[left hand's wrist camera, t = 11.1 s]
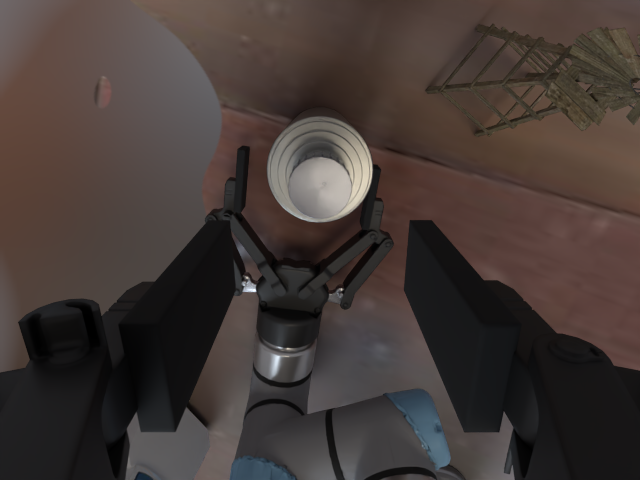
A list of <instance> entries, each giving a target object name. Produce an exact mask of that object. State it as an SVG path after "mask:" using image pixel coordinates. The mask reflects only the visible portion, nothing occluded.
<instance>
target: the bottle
mask: <svg viewBox="0 0 640 480" xmlns="http://www.w3.org/2000/svg"><path fill="white" fill-rule="evenodd" d="M322 151H323V152H327V153H331V154H332V155H334V156H336V157H339V159H340V160H341V161H342V162H344V163H345V166H346V168H347V170H349V173H350V178H351V181H352V192H351V197H350V200H349V202H348V204H347V205H346V207H345V208H344V209H343V210H342V211H341V212H340V213H338V214H337V215H335V216H333V217H330V218H326V219H314V218H310V217H307V216H305V215H303V214H302V213H300V212H299V211H298V210H297V209H296V208H295V207H294V205H293V204H292V202H291V200H290V197H289V192H288V184H289V176H290V173H292V169H293V166H295V165H296V163H297V162H298V160H299V159H301V158H302V157H304V156H305V155H306V154H310V153H313V152H322ZM267 178H268V183H269V186H270V189H271V191H272V193H273V195H274V197H275V199H276V200H277V201H278V203H279V204H280V205H281V206H282V207H283V208H284V209H285V210H286V211H288V212H289V213H290V214H292V215H294V216H295V217H298V218H300V219H302V220H306V221H310V222H330V221H334V220H337V219H340V218H342V217H344V216H346V215H348V214H350V213H351V212H352V211H354V210H355V209H356V208H357V207H358V206H359V205H360V204H361V203H362V201H363V200H364V198H365V197H366V195H367V193H368V191H369V189H370V186H371V183H372V178H373V161H372V156H371V153H370V150H369V147H368V145H367V143H366V142H365V140H364V139H363V137H362V136H361V135H360V134H359V133H358V131H357V130H356V129H355V128H354V127H353V126H352V125H351V124H350V123H349V122H348V121H347V120H346V119H345V118H344V117H343V116H342V115H341V114H340V113H338V112H337V111H335V110H333V109H330V108H325V107H314V108H310V109H307V110H305V111H303V112H302V113H300V114H299V115H298V116H297V117H296V118H295V119H294V120H293V121H292V122H291V123H290V124H289V125H288V126H287V127H286V128H285V129H284V130H283V132H282V133H281V134H280V135H279V136H278V137H277V139H276V140H275V142H274V143H273V145H272V147H271V150H270V152H269V156H268V160H267Z"/></svg>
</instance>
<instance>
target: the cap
mask: <svg viewBox="0 0 640 480" xmlns="http://www.w3.org/2000/svg"><path fill="white" fill-rule="evenodd" d="M288 192H289V197H290V200H291V202H292V204H293V205H294V207H295V208H296V209H297V210H298V211H299V212H300V213H302V214H303V215H305V216H307V217H310V218H314V219H326V218H330V217H333V216H335V215H337V214H338V213H340V212H341V211H342V210H343V209H344V208H345V207H346V205H347V204H348V202H349V200H350V197H351V192H352V181H351V178H350V173H349V170H347V168H346V166H345V163H344V162H342V161H341V160H340V159H339V157H336V156H334V155H332V154H331V153H327V152H323V151H322V152H313V153H310V154H306V155H305V156H304V157H302V158H301V159H299V160H298V162H297V163H296V165H295V166H293V169H292V173H290V176H289V184H288Z"/></svg>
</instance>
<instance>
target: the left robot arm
mask: <svg viewBox="0 0 640 480" xmlns="http://www.w3.org/2000/svg"><path fill="white" fill-rule="evenodd" d="M235 291H236V284H235V272H234V260H233V248H232V236H231V224H230V220H208V221H207V223H206V224H205V225H204V226H203V227H202V228H201V229H200V231H199V232H198V233H197V234H196V235H195V236H194V237H193V239H192V240H191V241H190V242H189V243H188V244H187V246H186V247H185V248H184V249H183V250H182V251H181V252H180V254H179V255H178V256H177V257H176V258H175V259H174V261H173V262H172V263H171V264H170V265H169V266H168V267H167V269H166V270H165V271H164V272H163V273H162V274H161V276H160V277H159V278H158V279H157V280H156V281H155V282H141V283H140V284H138V285H136V286H134V287H132V288H130V289H129V290H127V291H126V292H125V293H124V294H123V295H122V296H121V297H120V298H119V299H118V300H117V303H114V304H113V305H112V306H111V307H110V308H109V311H107V312H105V313H104V314H103V315H102V316H101V312H100V308H99V304H98V303H96V302H95V301H93V300H87V299H69V300H64V301H59V302H54V303H51V304H48V305H45V306H43V307H40V308H38V309H36V310H34V311H32V312H30V313H28V314H27V315H25V316H24V317H23V318H22V319H21V320H20V321H19V322H18V323H19V326H20V329H21V333H22V336H23V339H24V342H25V345H26V348H27V352H28V355H29V358H30V361H29V362H28V364H27V366H26V368H22V369H17V370H12V371H6V372H1V373H0V480H125V478H126V471H127V464H128V457H129V450H130V442H129V436H128V432H127V428H128V426H129V424H130V422H131V421H132V419H133V417H134V415H135V414H136V412H137V417H138V421H139V426H140V431H141V432H176V430H177V428H178V426H179V423H180V421H181V418H182V416H183V414H184V411H185V409H186V407H187V404H188V402H189V400H190V397H191V395H192V393H193V390H194V388H195V385H196V383H197V381H198V378H199V376H200V374H201V371H202V369H203V367H204V364H205V362H206V360H207V357H208V355H209V352H210V350H211V348H212V345H213V343H214V341H215V338H216V336H217V334H218V331H219V329H220V327H221V324H222V322H223V319H224V317H225V315H226V312H227V310H228V308H229V305H230V303H231V301H232V298H233V296H234V294H235ZM404 291H405V294H406V296H407V298H408V301H409V303H410V305H411V308H412V310H413V312H414V315H415V317H416V319H417V322H418V324H419V326H420V329H421V331H422V334H423V336H424V338H425V341H426V343H427V345H428V348H429V350H430V352H431V355H432V357H433V359H434V362H435V364H436V367H437V369H438V371H439V374H440V376H441V378H442V381H443V383H444V385H445V388H446V390H447V392H448V395H449V397H450V400H451V402H452V404H453V407H454V409H455V411H456V414H457V416H458V418H459V421H460V423H461V425H462V428H463V430H464V432H499V431H500V426H501V421H502V417H503V412H505V413H506V415H507V417H508V418H509V420H510V422H511V424H512V425H513V432H512V436H511V441H510V445H509V449H508V454H507V458H506V463H505V469H504V473H507V474H510V471H511V467H512V465H513V470H514V477H515V480H640V371H638V370H633V369H628V368H623V367H617V366H614V365H613V363H612V362H611V360H610V359H609V357H608V356H607V355H606V354H605V353H604V352H603V351H602V350H601V349H599V348H597V347H596V346H594V345H593V344H591V343H589V342H587V341H584V340H582V339H580V338H577V337H573V336H569V335H565V334H557V333H556V332H555V331H554V330H553V329H552V328H551V327H550V326H549V325H548V324H547V323H546V322H545V321H544V320H543V319H542V318H541V317H540V316H539V315H538V314H537V313H536V312H535V311H534V310H532V307H531V306H530V305H529V304H528V303H527V302H526V301H523V298H522V297H521V296H520V295H519V294H518V293H517V292H516V291H515V290H514V289H512V288H510V287H509V286H507V285H505V284H503V283H501V282H499V281H498V280H483V279H482V278H481V277H480V275H479V274H478V273H477V272H476V271H475V270H474V269H473V267H472V266H471V265H470V264H469V263H468V262H467V260H466V259H465V258H464V257H463V256H462V255H461V254H460V252H459V251H458V250H457V249H456V248H455V247H454V246H453V244H452V243H451V242H450V241H449V240H448V239H447V237H446V236H445V235H444V234H443V233H442V232H441V231H440V229H439V228H438V227H437V226H436V225H435V224H434V223H433V221H432V220H410V224H409V236H408V248H407V260H406V272H405V284H404Z"/></svg>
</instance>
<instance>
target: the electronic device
mask: <svg viewBox="0 0 640 480" xmlns="http://www.w3.org/2000/svg"><path fill="white" fill-rule="evenodd" d="M127 432H128V436H129V442H130V450H129V457H128V464H127V471H126V478H125V480H193V479H194V477H195V475H196V473H197V471H198V469H199V467H200V465H201V463H202V461H203V459H204V457H205V455H206V453H207V451H208V449H209V447H210V442H209V435H208V429H207V428H206V427H205V426H204V425H203V424H202V423H201V422H200V421H199V420H198V419H197V418H196V417H195V416H194V415H193V414H192V413H191V412H190V411H189V409H188V408H187V407H186V409H185V411H184V414H183V416H182V418H181V421H180V423H179V426H178V428H177V430H176V432H141V431H140V426H139V421H138V417H137V412H136V414H135V415H134V417H133V419H132V421H131V422H130V424H129V426H128V428H127Z"/></svg>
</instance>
